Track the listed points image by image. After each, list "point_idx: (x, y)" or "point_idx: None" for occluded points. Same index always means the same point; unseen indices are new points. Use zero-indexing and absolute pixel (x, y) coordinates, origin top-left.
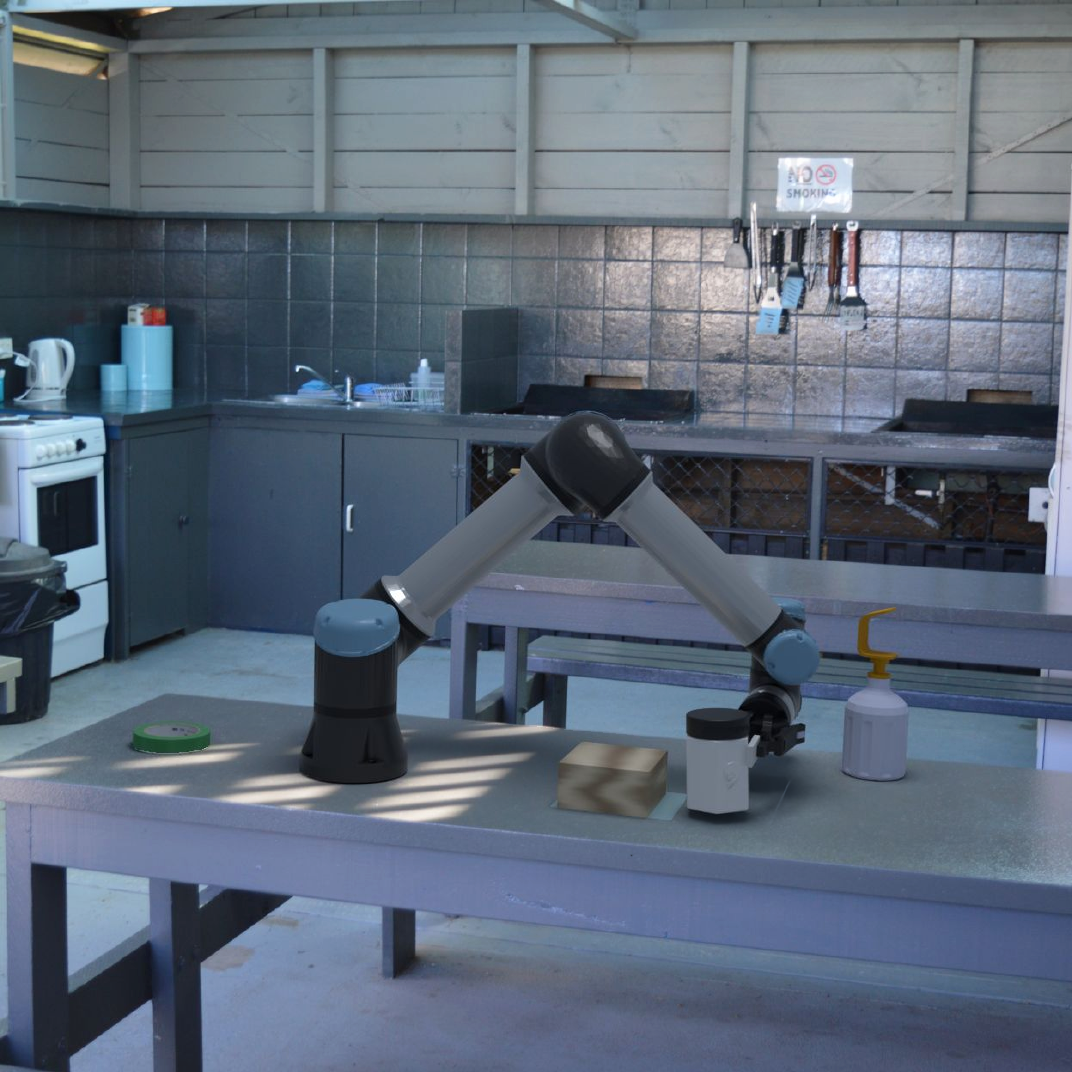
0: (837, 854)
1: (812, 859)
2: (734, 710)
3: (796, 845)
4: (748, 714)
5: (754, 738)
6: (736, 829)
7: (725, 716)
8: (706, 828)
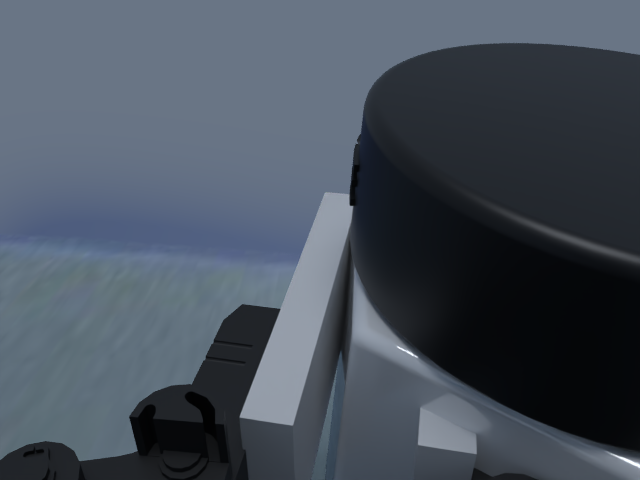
0: (88, 303)
1: (172, 270)
2: (529, 176)
3: (184, 344)
4: (371, 104)
5: (303, 329)
6: None
7: (541, 79)
8: None
